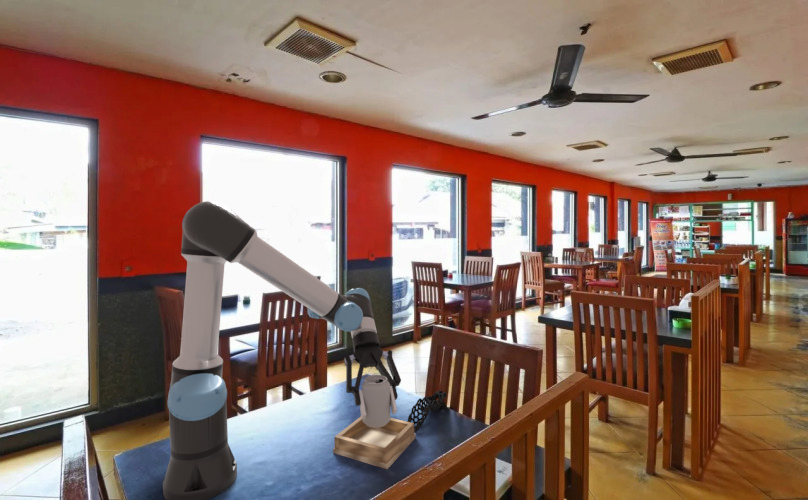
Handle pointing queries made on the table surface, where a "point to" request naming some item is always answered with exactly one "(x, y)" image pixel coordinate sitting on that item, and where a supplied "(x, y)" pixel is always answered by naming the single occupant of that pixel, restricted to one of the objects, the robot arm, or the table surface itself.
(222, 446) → the robot arm
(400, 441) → the wooden tray
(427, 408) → the decorative element
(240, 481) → the table surface
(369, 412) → the can
